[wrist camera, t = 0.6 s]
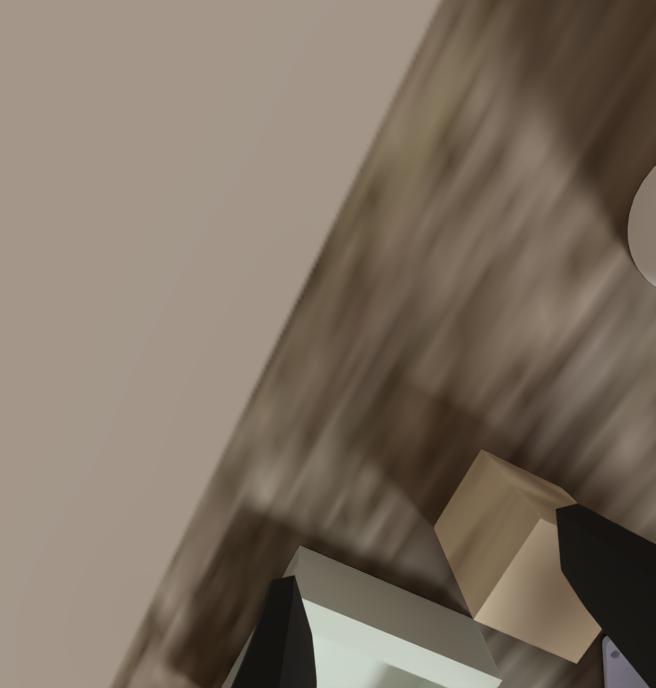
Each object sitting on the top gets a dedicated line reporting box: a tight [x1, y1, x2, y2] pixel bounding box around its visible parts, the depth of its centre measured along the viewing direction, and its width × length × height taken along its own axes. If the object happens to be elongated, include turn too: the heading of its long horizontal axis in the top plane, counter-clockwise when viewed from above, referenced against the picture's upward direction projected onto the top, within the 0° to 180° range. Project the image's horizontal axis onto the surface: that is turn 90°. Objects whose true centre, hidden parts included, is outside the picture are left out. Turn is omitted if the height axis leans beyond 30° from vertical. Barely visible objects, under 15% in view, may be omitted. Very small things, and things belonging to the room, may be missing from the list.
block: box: [433, 449, 602, 664], centre depth 20 cm, size 5×5×6 cm
